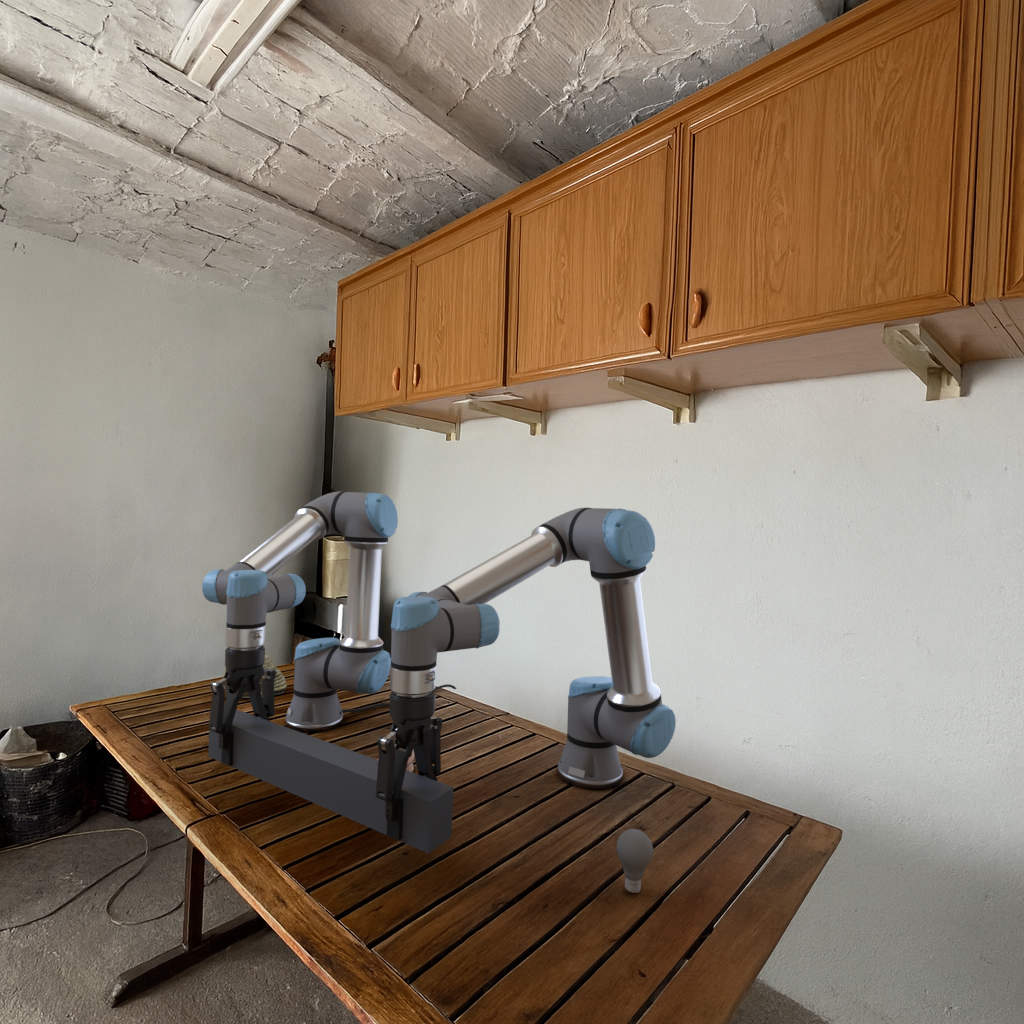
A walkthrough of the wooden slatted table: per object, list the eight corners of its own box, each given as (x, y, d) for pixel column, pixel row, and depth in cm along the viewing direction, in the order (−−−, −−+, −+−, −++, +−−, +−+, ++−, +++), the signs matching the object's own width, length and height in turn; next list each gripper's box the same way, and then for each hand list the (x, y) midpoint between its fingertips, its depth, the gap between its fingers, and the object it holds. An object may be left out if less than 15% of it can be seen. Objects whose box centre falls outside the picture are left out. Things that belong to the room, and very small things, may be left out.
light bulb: (610, 879, 108) (613, 822, 108) (644, 879, 109) (647, 822, 109) (619, 902, 102) (622, 840, 102) (655, 901, 103) (658, 840, 103)
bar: (208, 756, 131) (209, 716, 131) (234, 747, 136) (235, 708, 136) (428, 853, 99) (430, 801, 99) (451, 837, 104) (453, 787, 104)
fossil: (218, 695, 195) (220, 647, 195) (278, 685, 208) (279, 640, 207) (228, 703, 189) (230, 653, 188) (289, 692, 201) (290, 645, 201)
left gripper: (212, 658, 119) (208, 779, 120) (296, 641, 135) (292, 748, 136) (190, 651, 123) (186, 769, 124) (273, 635, 139) (270, 740, 140)
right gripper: (389, 710, 95) (384, 862, 96) (465, 682, 111) (460, 812, 112) (353, 700, 99) (349, 846, 100) (432, 674, 115) (428, 800, 116)
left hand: (241, 758), depth 130 cm, fingers closed on bar, 6 cm apart
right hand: (408, 828), depth 106 cm, fingers closed on bar, 6 cm apart
